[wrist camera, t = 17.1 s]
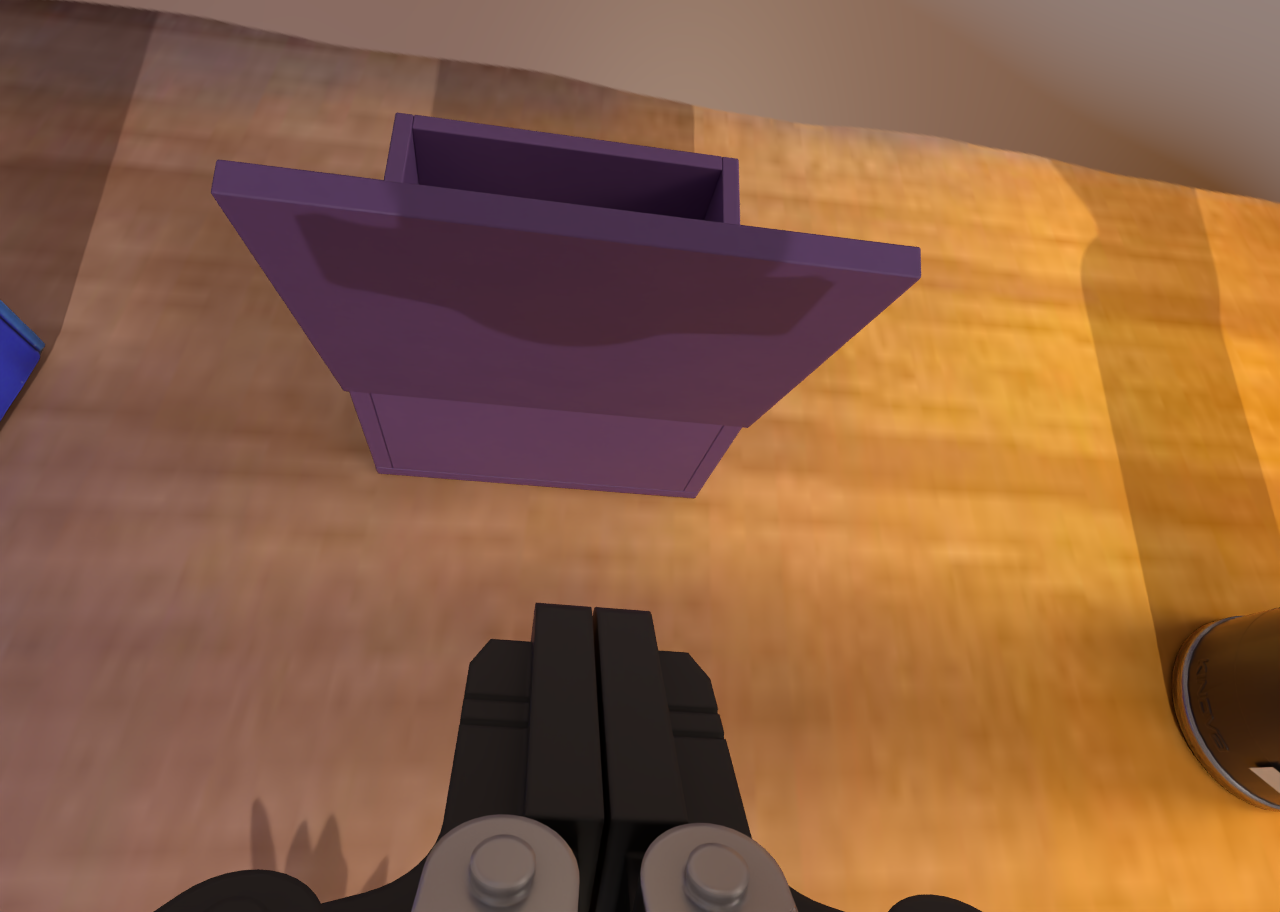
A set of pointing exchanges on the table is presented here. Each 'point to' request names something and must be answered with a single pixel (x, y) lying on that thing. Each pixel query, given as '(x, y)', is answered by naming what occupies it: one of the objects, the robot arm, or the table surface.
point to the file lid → (554, 295)
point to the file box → (542, 438)
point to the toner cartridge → (15, 356)
